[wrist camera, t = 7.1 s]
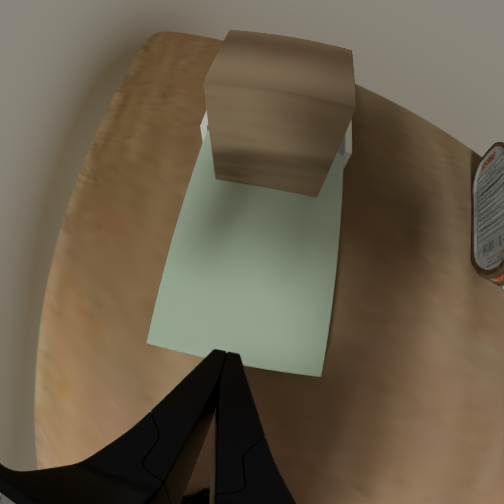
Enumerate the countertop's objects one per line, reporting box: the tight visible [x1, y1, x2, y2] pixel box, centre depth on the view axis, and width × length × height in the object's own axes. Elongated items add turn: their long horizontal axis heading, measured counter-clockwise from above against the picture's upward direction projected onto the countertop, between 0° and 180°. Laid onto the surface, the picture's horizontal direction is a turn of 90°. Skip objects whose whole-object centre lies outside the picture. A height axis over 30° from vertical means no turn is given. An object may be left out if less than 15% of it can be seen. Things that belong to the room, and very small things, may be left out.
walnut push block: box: [203, 30, 356, 198], centre depth 20 cm, size 6×8×10 cm
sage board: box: [147, 131, 344, 377], centre depth 23 cm, size 18×12×2 cm, turn 169°
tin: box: [471, 142, 504, 286], centre depth 22 cm, size 15×3×8 cm, turn 160°
